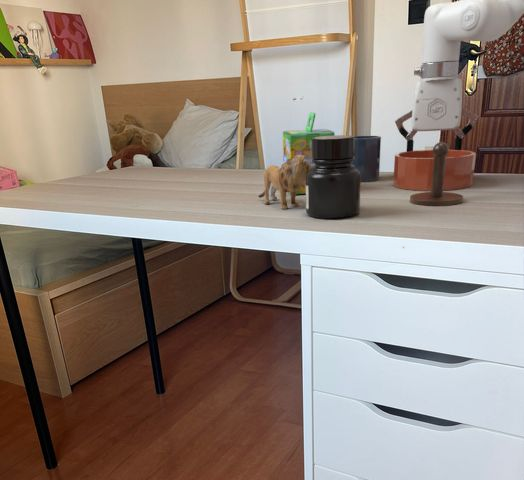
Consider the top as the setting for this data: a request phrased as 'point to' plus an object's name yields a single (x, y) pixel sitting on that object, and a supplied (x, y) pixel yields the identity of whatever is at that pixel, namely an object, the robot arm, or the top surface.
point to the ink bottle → (333, 178)
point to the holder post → (437, 182)
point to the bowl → (421, 168)
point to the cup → (367, 157)
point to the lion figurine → (286, 179)
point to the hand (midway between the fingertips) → (432, 158)
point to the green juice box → (302, 144)
